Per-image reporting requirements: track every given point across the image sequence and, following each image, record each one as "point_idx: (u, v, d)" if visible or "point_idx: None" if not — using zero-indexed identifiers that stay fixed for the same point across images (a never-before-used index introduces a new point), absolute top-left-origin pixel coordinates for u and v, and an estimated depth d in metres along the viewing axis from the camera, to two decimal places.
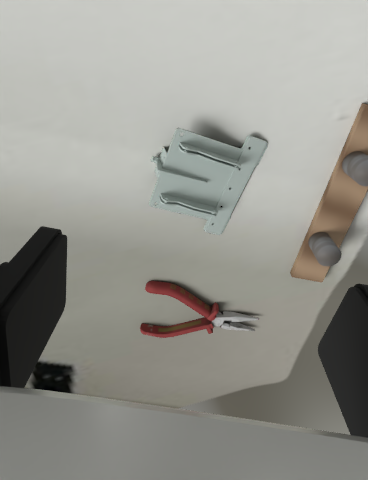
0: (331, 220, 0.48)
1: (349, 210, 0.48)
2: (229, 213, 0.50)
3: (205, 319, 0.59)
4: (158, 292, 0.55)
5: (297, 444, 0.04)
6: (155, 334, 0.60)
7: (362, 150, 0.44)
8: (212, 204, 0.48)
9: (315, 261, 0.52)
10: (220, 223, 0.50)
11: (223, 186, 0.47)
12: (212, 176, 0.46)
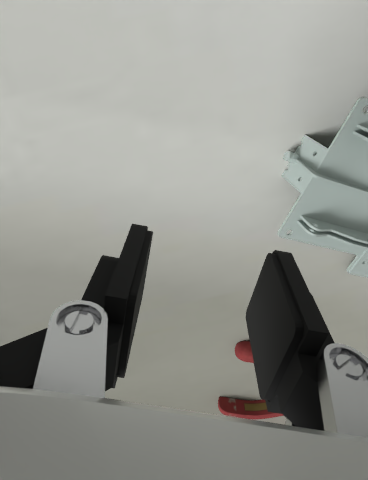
0: None
1: None
2: None
3: None
4: None
5: (297, 444, 0.04)
6: (242, 415, 0.40)
7: None
8: None
9: None
10: None
11: None
12: None
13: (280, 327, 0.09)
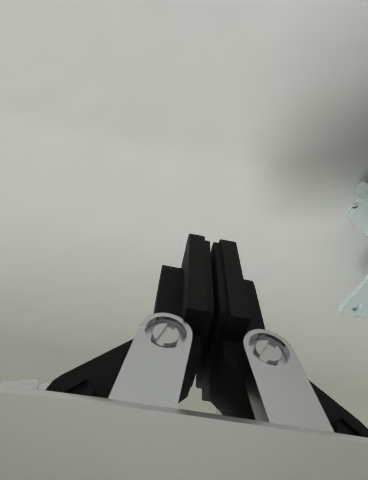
0: None
1: None
2: None
3: None
4: None
5: (297, 444, 0.04)
6: None
7: None
8: None
9: None
10: None
11: None
12: None
13: (212, 315, 0.09)
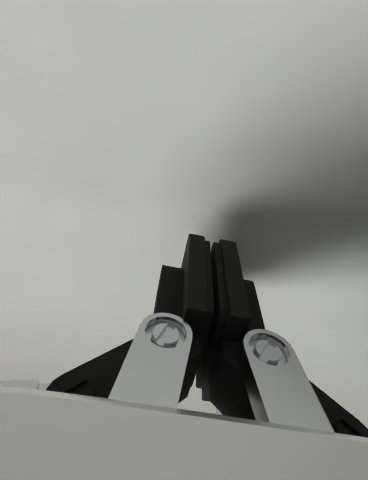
0: None
1: None
2: None
3: None
4: None
5: (297, 444, 0.04)
6: None
7: None
8: None
9: None
10: None
11: None
12: None
13: (213, 314, 0.09)
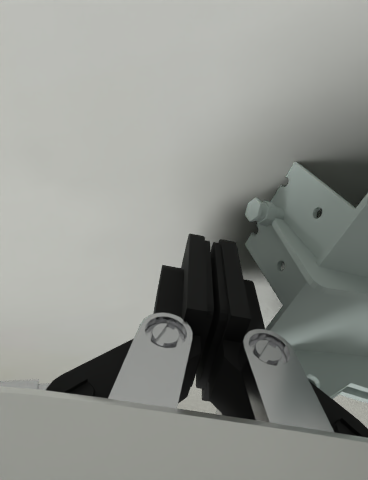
0: None
1: None
2: None
3: None
4: None
5: (297, 444, 0.04)
6: None
7: None
8: None
9: None
10: None
11: None
12: None
13: (212, 314, 0.09)
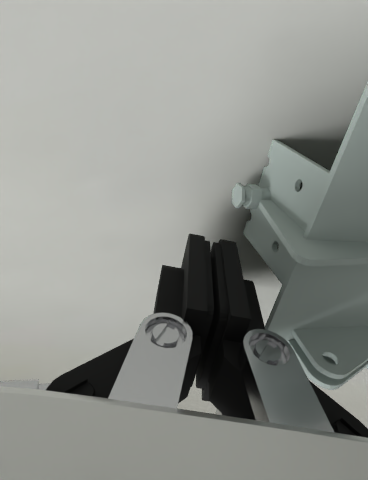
0: None
1: None
2: None
3: None
4: None
5: (297, 444, 0.04)
6: None
7: None
8: None
9: None
10: None
11: None
12: None
13: (212, 315, 0.09)
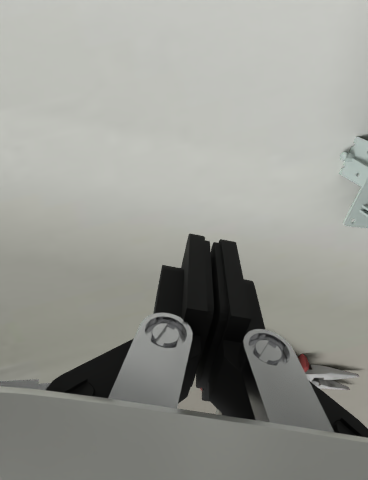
0: None
1: None
2: None
3: None
4: None
5: (297, 444, 0.04)
6: None
7: None
8: None
9: None
10: None
11: None
12: None
13: (212, 315, 0.09)
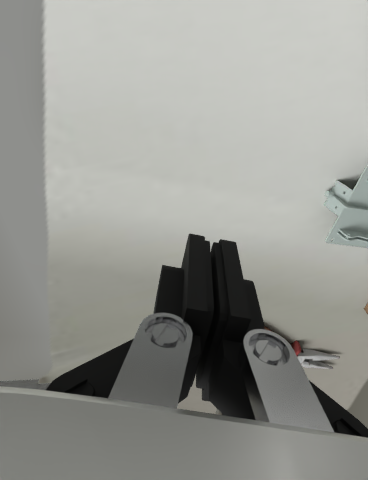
0: None
1: None
2: None
3: None
4: None
5: (297, 444, 0.04)
6: None
7: None
8: None
9: None
10: None
11: None
12: None
13: (212, 314, 0.09)
